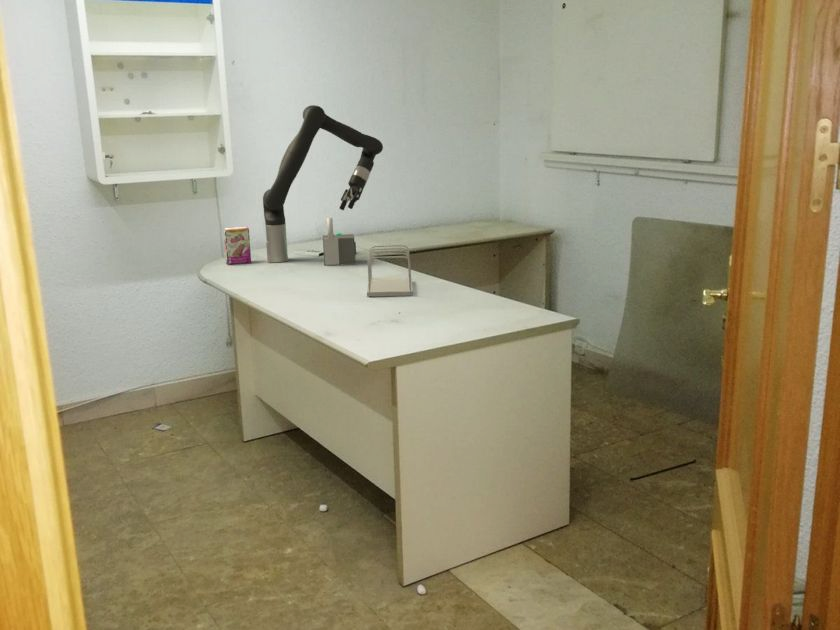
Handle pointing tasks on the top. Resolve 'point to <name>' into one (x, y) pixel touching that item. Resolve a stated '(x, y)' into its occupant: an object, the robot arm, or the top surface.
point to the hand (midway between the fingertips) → (345, 208)
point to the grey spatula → (331, 246)
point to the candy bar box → (237, 245)
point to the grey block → (345, 248)
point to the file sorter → (389, 284)
